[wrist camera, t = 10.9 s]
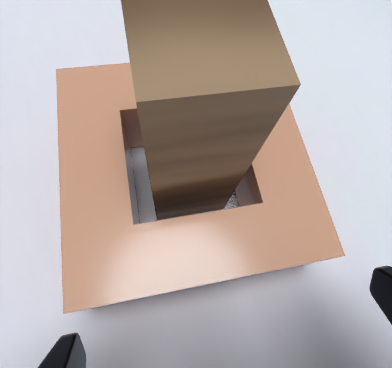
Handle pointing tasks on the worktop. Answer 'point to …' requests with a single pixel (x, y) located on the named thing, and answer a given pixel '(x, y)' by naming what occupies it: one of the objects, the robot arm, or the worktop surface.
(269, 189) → the socket
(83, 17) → the worktop surface
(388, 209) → the worktop surface
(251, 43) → the peg
